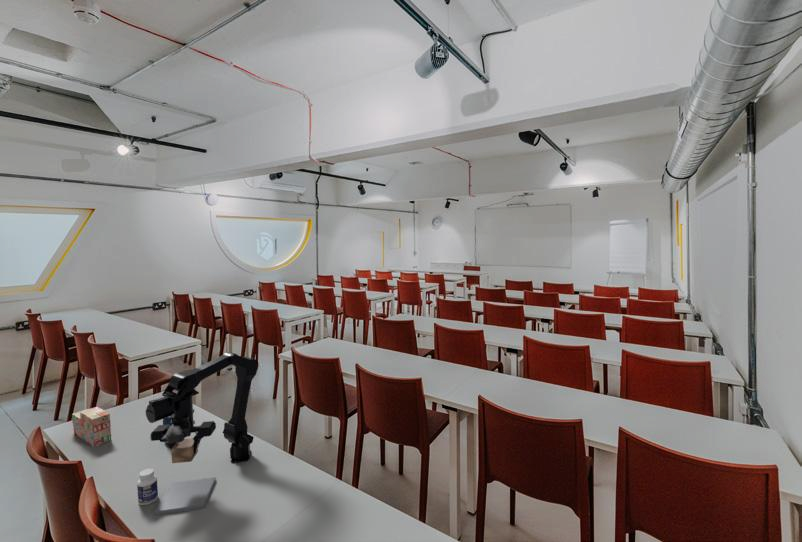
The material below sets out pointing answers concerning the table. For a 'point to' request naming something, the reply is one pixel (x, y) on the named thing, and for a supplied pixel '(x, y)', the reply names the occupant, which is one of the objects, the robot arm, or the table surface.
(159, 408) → the robot arm
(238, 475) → the table surface
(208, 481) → the base plate
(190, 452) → the tan wooden block
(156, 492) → the pill bottle
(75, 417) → the stack of blocks
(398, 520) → the table surface
